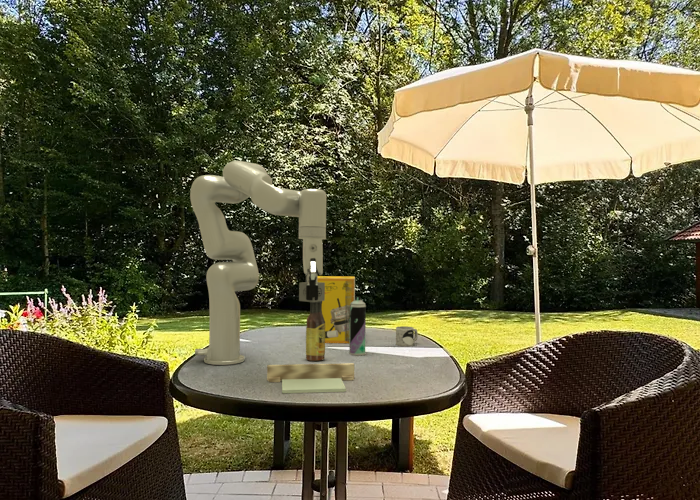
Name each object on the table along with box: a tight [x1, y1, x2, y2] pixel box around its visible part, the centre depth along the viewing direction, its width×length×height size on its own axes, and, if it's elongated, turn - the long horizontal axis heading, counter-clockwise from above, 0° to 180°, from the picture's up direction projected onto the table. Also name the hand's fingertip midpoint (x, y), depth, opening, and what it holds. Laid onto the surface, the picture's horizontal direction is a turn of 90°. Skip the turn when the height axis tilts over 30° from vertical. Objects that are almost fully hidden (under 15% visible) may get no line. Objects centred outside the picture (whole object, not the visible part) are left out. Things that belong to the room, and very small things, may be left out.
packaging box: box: [318, 275, 356, 344], centre depth 213 cm, size 16×16×25 cm
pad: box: [281, 378, 347, 394], centre depth 140 cm, size 16×11×1 cm
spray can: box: [348, 295, 367, 357], centre depth 184 cm, size 6×6×20 cm
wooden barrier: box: [266, 362, 355, 383], centre depth 148 cm, size 24×5×4 cm, turn 98°
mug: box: [395, 326, 419, 348], centre depth 204 cm, size 10×7×7 cm
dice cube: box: [298, 281, 325, 303], centre depth 148 cm, size 5×5×5 cm
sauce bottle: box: [305, 301, 326, 362], centre depth 174 cm, size 7×6×20 cm
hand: (311, 298), depth 148 cm, fingers closed on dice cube, 6 cm apart
